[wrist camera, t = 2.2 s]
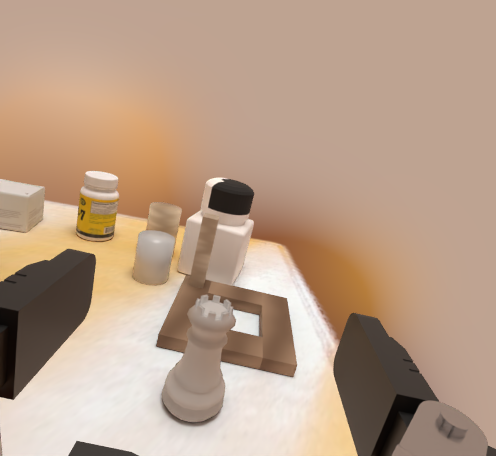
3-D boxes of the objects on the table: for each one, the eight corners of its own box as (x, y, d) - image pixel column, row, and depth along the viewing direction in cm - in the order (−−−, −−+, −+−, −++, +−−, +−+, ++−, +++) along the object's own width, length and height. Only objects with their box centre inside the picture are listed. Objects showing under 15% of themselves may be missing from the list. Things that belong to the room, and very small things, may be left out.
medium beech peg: (138, 255, 47) (146, 207, 45) (147, 244, 51) (155, 200, 49) (169, 262, 47) (178, 214, 45) (175, 251, 51) (184, 207, 49)
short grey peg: (127, 280, 40) (133, 238, 39) (138, 266, 44) (145, 227, 43) (162, 288, 40) (170, 247, 39) (171, 273, 44) (178, 235, 43)
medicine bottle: (242, 268, 51) (263, 185, 47) (230, 289, 44) (254, 194, 41) (194, 253, 52) (212, 171, 48) (175, 272, 45) (194, 177, 41)
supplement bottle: (75, 227, 50) (81, 167, 48) (111, 229, 52) (119, 173, 50) (76, 241, 46) (82, 177, 44) (115, 243, 48) (123, 182, 46)
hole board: (156, 346, 31) (175, 247, 28) (184, 284, 42) (199, 209, 40) (293, 376, 31) (324, 282, 29) (284, 307, 43) (306, 235, 40)
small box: (43, 219, 50) (46, 185, 49) (26, 234, 45) (29, 196, 44) (-2, 212, 49) (-1, 177, 48) (-26, 226, 44) (-25, 187, 42)
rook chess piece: (206, 373, 29) (228, 285, 27) (232, 416, 26) (260, 320, 23) (152, 385, 27) (171, 289, 24) (173, 434, 23) (197, 328, 21)
